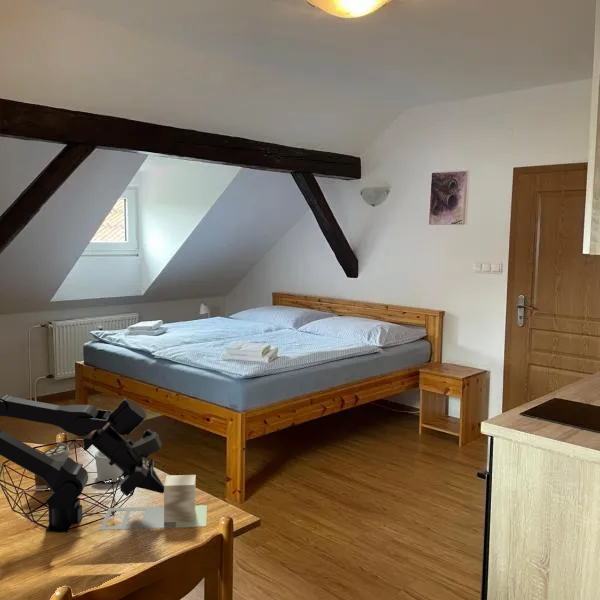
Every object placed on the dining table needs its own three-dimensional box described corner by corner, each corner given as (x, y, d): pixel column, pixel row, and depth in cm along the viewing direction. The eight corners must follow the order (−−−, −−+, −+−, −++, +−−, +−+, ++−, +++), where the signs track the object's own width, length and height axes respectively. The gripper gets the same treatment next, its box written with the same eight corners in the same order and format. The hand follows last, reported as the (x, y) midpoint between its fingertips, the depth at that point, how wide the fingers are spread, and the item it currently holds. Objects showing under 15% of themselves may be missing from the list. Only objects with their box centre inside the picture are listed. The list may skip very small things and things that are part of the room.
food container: (53, 496, 159) (52, 459, 158) (32, 493, 160) (31, 456, 159) (79, 477, 171) (79, 443, 170) (59, 475, 172) (59, 441, 171)
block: (164, 522, 143) (164, 485, 142) (166, 510, 149) (166, 475, 148) (194, 521, 144) (194, 484, 143) (195, 510, 150) (195, 474, 149)
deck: (99, 536, 139) (99, 529, 139) (108, 514, 150) (108, 508, 150) (205, 532, 142) (206, 526, 142) (207, 510, 153) (207, 505, 153)
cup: (86, 476, 172) (85, 448, 171) (112, 469, 178) (112, 442, 177) (103, 488, 164) (102, 460, 163) (130, 481, 170) (130, 453, 169)
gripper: (134, 437, 134) (186, 483, 136) (145, 412, 152) (190, 453, 155) (98, 472, 133) (150, 518, 136) (113, 443, 152) (159, 484, 154)
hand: (164, 491), depth 145 cm, fingers closed, pressing on block
